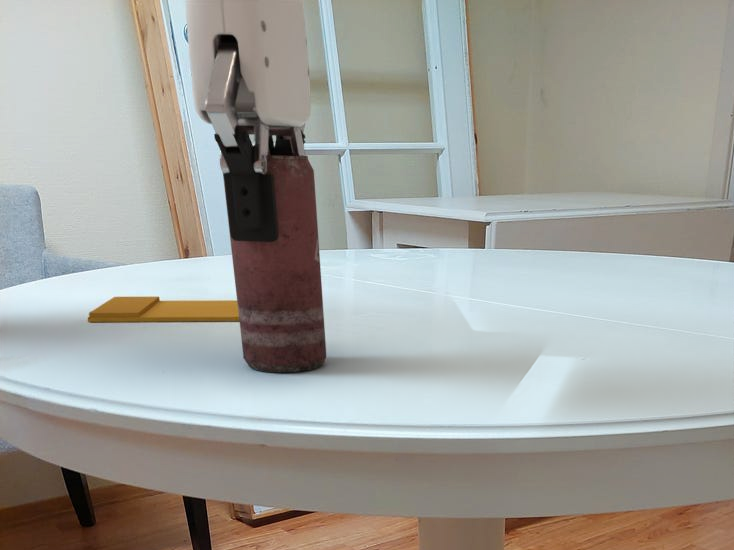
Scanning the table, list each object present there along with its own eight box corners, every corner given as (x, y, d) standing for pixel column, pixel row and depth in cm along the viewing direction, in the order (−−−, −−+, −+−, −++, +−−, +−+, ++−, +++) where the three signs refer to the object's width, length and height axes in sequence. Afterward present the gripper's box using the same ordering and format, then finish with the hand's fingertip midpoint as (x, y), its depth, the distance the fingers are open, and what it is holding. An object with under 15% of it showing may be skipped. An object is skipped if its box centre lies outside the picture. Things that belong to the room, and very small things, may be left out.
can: (261, 354, 70) (241, 152, 63) (338, 358, 69) (325, 153, 62) (227, 370, 65) (200, 152, 58) (309, 375, 64) (292, 154, 57)
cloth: (87, 322, 81) (86, 312, 81) (113, 304, 90) (112, 296, 90) (308, 320, 84) (307, 311, 83) (313, 304, 92) (312, 296, 92)
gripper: (237, -58, 62) (264, 226, 70) (114, -124, 47) (168, 247, 56) (342, -60, 61) (356, 228, 70) (250, -127, 46) (283, 250, 55)
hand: (272, 233), depth 62 cm, fingers closed on can, 6 cm apart
